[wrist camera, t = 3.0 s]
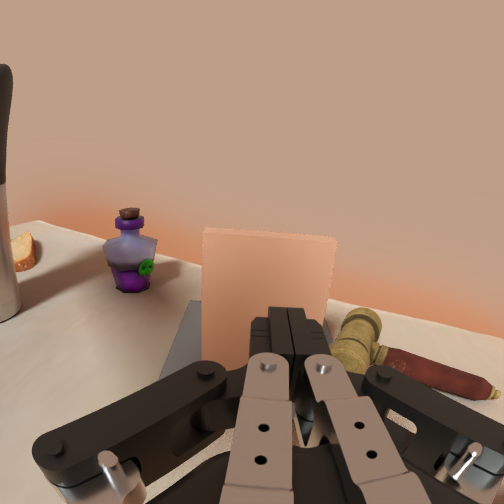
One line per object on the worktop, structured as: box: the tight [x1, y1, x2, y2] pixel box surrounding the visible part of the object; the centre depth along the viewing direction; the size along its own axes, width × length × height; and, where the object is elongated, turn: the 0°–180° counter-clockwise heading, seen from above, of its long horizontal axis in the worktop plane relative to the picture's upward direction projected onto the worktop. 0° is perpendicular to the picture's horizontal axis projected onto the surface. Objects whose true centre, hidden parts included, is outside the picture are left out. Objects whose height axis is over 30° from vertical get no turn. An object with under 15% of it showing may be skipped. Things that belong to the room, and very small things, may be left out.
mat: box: [158, 300, 334, 422], centre depth 33 cm, size 18×20×1 cm
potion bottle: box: [103, 208, 157, 293], centre depth 44 cm, size 9×9×12 cm
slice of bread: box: [11, 231, 36, 272], centre depth 52 cm, size 18×18×4 cm
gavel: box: [329, 308, 501, 400], centre depth 27 cm, size 21×5×10 cm
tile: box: [202, 227, 337, 371], centre depth 26 cm, size 10×2×14 cm, turn 89°
